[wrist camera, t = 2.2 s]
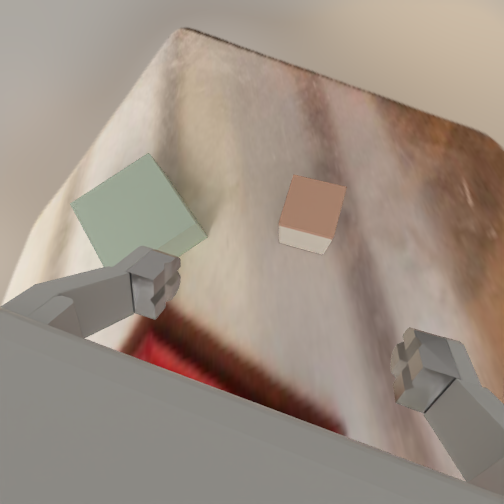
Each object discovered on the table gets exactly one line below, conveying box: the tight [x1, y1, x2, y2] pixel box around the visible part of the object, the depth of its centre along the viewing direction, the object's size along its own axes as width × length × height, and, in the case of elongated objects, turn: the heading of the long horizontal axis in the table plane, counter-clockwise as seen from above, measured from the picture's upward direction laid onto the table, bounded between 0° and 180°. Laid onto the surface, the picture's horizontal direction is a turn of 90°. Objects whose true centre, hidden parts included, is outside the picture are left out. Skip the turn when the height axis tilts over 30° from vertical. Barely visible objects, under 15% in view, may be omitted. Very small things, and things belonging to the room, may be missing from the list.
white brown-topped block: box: [279, 175, 347, 255], centre depth 35 cm, size 6×6×8 cm
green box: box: [70, 153, 207, 267], centre depth 39 cm, size 12×12×6 cm
